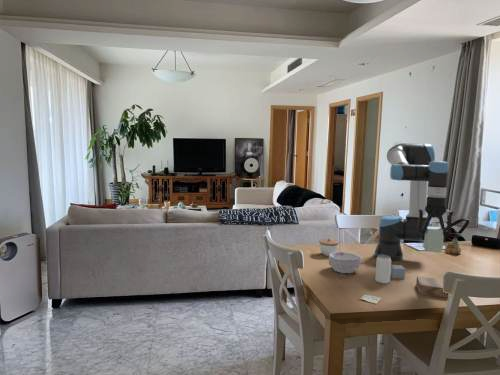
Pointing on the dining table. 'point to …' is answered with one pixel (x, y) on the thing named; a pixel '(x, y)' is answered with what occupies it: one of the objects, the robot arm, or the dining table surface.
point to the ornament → (453, 247)
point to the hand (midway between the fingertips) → (432, 248)
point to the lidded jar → (328, 246)
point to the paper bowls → (344, 261)
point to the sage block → (434, 239)
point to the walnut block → (430, 286)
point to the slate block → (397, 271)
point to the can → (383, 269)
